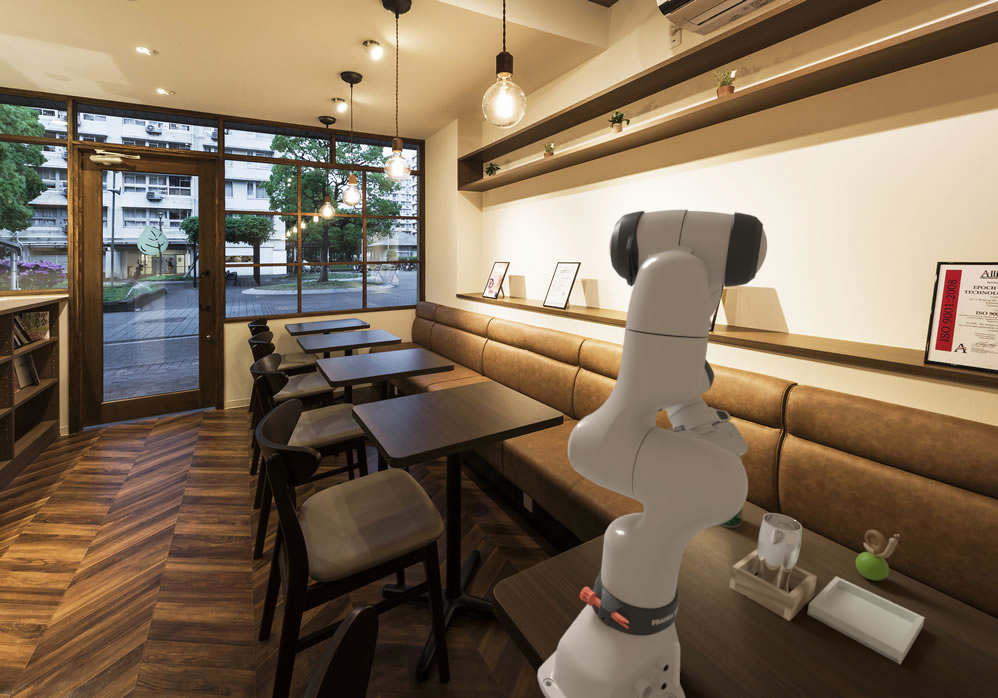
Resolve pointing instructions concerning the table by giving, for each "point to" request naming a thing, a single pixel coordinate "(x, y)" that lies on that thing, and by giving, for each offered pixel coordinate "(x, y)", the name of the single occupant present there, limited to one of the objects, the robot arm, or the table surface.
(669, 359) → the robot arm
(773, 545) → the beer glass
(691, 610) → the table surface
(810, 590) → the square frame
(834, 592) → the tray
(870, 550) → the snail figurine
